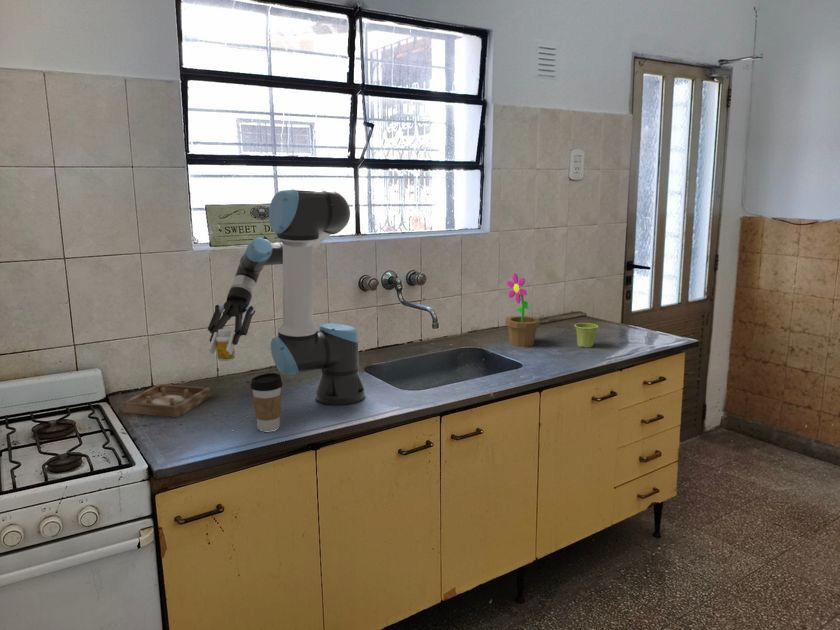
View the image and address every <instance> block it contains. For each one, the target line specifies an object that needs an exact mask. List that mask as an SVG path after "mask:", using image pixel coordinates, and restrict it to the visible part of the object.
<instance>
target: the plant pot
mask: <svg viewBox="0 0 840 630" xmlns="http://www.w3.org/2000/svg"><path fill="white" fill-rule="evenodd" d="M574 327H575V331H576V340H577V346H578V347H580V348H582V347H583V348H586V349H587V348H592V347H593V346H594V342H595V337H596V334H597V330H598V328H599V324H595V323H589V322H578V323H575V324H574Z"/></svg>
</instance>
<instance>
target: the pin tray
mask: <svg viewBox="0 0 840 630" xmlns="http://www.w3.org/2000/svg"><path fill="white" fill-rule="evenodd" d="M209 397H210V398H211V387H203V386H190V385H179V384H165V383H164V384H163V383H157V384H155V385H154V386H152V387H150V388H148V389H147V390H144V391H142V392H141V393H138V394H136V395H135V396H132V397H131V398H129V399H127V400H125V401H123V402H122V403H121V404H122V413H123V414H124V413H126V414H136V415H145V414H146V416H147V415H149V416H157V415H159V417H168V416H170V418H180V417H181V416H183V415H184V414H186V413H187V412H189V411H190V410H192V409H194V408H195V407H197V406H199V405H200V404H202V403H203V402H205V401H207V400H209V399H210V398H209Z"/></svg>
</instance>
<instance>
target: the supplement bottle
mask: <svg viewBox="0 0 840 630" xmlns="http://www.w3.org/2000/svg"><path fill="white" fill-rule="evenodd" d="M231 334H232V329H230V328H223V329H219V330H218V335H219V336H218V337H217V338H216V344H217V347H216V354H217V356H216V357H217V361H220V362H229V361H233V360H234V359H235V358H236V353H235V352H236V351H235V348H234V349H233V352H232V354H231V355H229V354H228V353H227V351H226V348H227V346H228V343H229V340H230V337H231Z"/></svg>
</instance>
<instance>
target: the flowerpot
mask: <svg viewBox="0 0 840 630" xmlns="http://www.w3.org/2000/svg"><path fill="white" fill-rule="evenodd" d="M525 284H526V279H525V277H524V278H520V279H519V277H518V274H517V273H516V272H514V273H513V275H512V280H508V281H506V285H507V286H508V287H509V288H511V289H512V288H513V289H512V290H510V292H509V293H508V298H509V299H511V298H513V297H514V296H515V301H516V302H517V304H520V303H521V307H518V308H516V309H515V310H516V312H518V313H520V314H521V315H516V316H514V315H513V316H509V317H506V318H505V321H504V322H505V326H506V327H508V328H507V329H508V331H507V332H508V338H509V340H508V341H509V345H511V346H514V347H519V348H520V347H523V348H527V347H532V346H534V345H535V339H536V334H537V328H539V327H540V324H541V319H539V318H537V317H534V316H529V315H527V316H526V315H525V310H528V309H529V308H530V305H529V302H527V301H526V300H524V296H527V295H528V293H527V291H526V289H524V288H520V287H522V286H524V285H525Z"/></svg>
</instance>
